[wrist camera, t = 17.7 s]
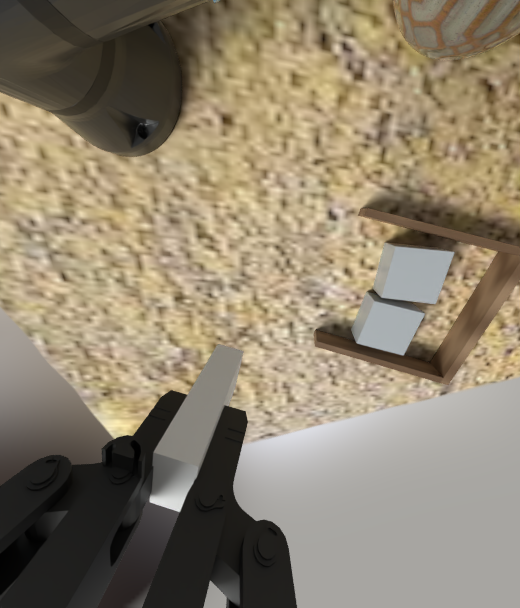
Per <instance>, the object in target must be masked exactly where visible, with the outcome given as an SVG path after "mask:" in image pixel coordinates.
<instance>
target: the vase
mask: <svg viewBox="0 0 520 608" xmlns="http://www.w3.org/2000/svg"><path fill="white" fill-rule="evenodd" d="M393 5H394V12H395V16H396V20H397V24H398V26H399V29H400V31H401V33H402V35H403V36H404V38H405V40H406V41H407V42H408V44H409V45H410V46H411V47H412V48H413V49H415V50H416V51H417V52H419V53H420V54H422V55H424V56H426V57H429V58H432V59H436V60H458V59H464V58H469V57H472V56H475V55H478V54H481V53H483V52H486V51H489V50H491V49H493V48H496V47H498V46H499V45H501V44H503V43H505V42H507V41H508V40H510V39H512V38H513V37H515V36H516V35H518V34H520V0H393Z"/></svg>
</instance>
